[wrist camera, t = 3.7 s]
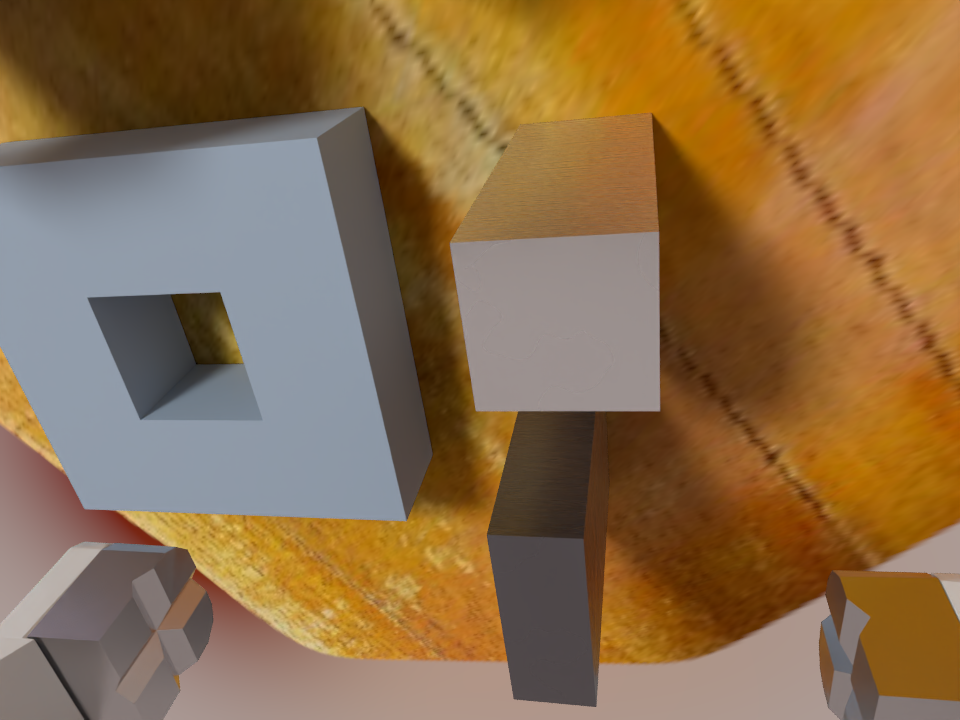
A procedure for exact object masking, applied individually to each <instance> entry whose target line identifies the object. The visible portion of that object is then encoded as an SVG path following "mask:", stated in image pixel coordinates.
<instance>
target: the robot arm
mask: <svg viewBox="0 0 960 720" xmlns="http://www.w3.org/2000/svg"><path fill="white" fill-rule="evenodd" d="M195 569H196V566H195V564H194V562H193V560H192V558H191V556H190V554H189V552H188V550H186V549H182V548H178V547H167V546H151V545H136V544H121V543H114V544H111V543H95V542H82V543H80V544H78V545H76V546H74V547H71V548H70V549H69V550H68V551H67V552H66V553H65V554H64V555H63V556H62V557H61V559H60V560H59V561H58V562H57V563H56V564H55V565H54V566H53V567H52V568H51V570H50V571H49V572H48V573H47V574H46V575H45V576H44V577H43V578H42V579H41V580H40V581H39V582H38V584H37V585H36V586H35V587H34V588H33V589H32V590H31V591H30V592H29V593H28V595H27V596H26V597H25V598H24V599H23V600H22V601H21V602H20V603H19V604H18V605H17V606H16V608H15V609H14V610H13V611H12V612H11V613H10V614H9V615H8V616H7V617H6V618H5V620H4V621H3V622H2V623H1V624H0V720H163V719H164V717H165V715H166V714H167V712H168V710H169V709H170V707H171V705H172V704H173V702H174V700H175V699H176V697H177V695H178V694H179V692H180V683H179V675H180V674H181V673H182V672H184V671H185V670H186V669H188V668H189V667H190V666H192V665H193V664H194V663H196V662H197V661H198V660H199V658H200V656H201V654H202V653H203V651H204V649H205V647H206V645H207V644H208V641H209V637H210V632H211V628H212V624H213V611H212V603H211V601H210V599H209V596H208V594H207V591H206V590H205V589H203V588H202V587H201V586H199V584H197V583H196V582H195V581H194V580H192V579H191V578H192V576H193V574H194V571H195ZM825 595H826V598H827V602H828V605H829V609H830V612H831V615H830V616H829V617H827V618H826V619H825V620H823V621H822V622H821V630H820V639H819V656H820V670H821V676H822V682H823V688H824V692H825V696H826V700H827V704H828V708H829V709H830V710H831V711H832V712H833V713H834V714H835V715H836V716H837V717H838V718H839V719H840V720H960V574H946V573H931V574H927V573H911V572H875V571H838V570H832V572H831V574H830V576H829V578H828V582H827V588H826V594H825Z"/></svg>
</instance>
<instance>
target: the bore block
mask: <svg viewBox="0 0 960 720" xmlns="http://www.w3.org/2000/svg"><path fill="white" fill-rule="evenodd" d="M211 292H220V293H221V296H222V299H223V302H224V305H225V308H226V311H227V314H228V317H229V320H230V323H231V326H232V329H233V332H234V335H235V338H236V341H237V344H238V347H239V350H240V353H241V356H242V359H243V362H244V364H201V365H196V362H195V360H194V357H193V354H192V352H191V349H190V346H189V344H188V341H187V338H186V336H185V333H184V330H183V327H182V325H181V322H180V319H179V317H178V314H177V311H176V309H175V306H174V303H173V301H172V298H171V295H170V294H187V293H211ZM0 347H1V349H2V351H3V353H4V355H5V356H6V358H7V360H8V362H9V364H10V366H11V368H12V370H13V372H14V374H15V376H16V378H17V380H18V382H19V383H20V385H21V387H22V389H23V391H24V393H25V395H26V397H27V399H28V401H29V403H30V405H31V407H32V409H33V410H34V412H35V414H36V416H37V418H38V420H39V422H40V424H41V426H42V428H43V430H44V432H45V434H46V436H47V437H48V439H49V441H50V443H51V445H52V447H53V449H54V451H55V453H56V455H57V457H58V459H59V461H60V463H61V464H62V466H63V468H64V470H65V472H66V474H67V476H68V478H69V480H70V482H71V484H72V486H73V488H74V490H75V491H76V493H77V495H78V497H79V499H80V501H81V503H82V505H83V507H84V509H98V510H124V511H151V512H178V513H205V514H231V515H258V516H285V517H312V518H339V519H365V520H392V521H407V519H408V516H409V514H410V511H411V509H412V506H413V504H414V501H415V499H416V496H417V493H418V491H419V488H420V486H421V483H422V481H423V478H424V476H425V473H426V471H427V468H428V465H429V463H430V460H431V458H432V455H433V453H432V448H431V443H430V437H429V432H428V427H427V422H426V417H425V412H424V407H423V402H422V397H421V392H420V387H419V382H418V377H417V372H416V367H415V362H414V357H413V352H412V347H411V342H410V337H409V332H408V327H407V322H406V317H405V312H404V307H403V302H402V297H401V292H400V287H399V282H398V277H397V272H396V267H395V262H394V257H393V252H392V246H391V241H390V236H389V231H388V226H387V221H386V216H385V211H384V206H383V201H382V196H381V191H380V186H379V181H378V176H377V171H376V166H375V161H374V156H373V151H372V146H371V141H370V136H369V131H368V126H367V121H366V116H365V111H364V107H356V108H346V109H336V110H326V111H316V112H306V113H296V114H286V115H276V116H266V117H256V118H246V119H236V120H226V121H216V122H206V123H196V124H186V125H176V126H166V127H156V128H146V129H136V130H126V131H116V132H106V133H96V134H86V135H76V136H66V137H56V138H46V139H36V140H26V141H16V142H6V143H2V144H0Z"/></svg>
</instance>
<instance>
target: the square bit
mask: <svg viewBox="0 0 960 720" xmlns="http://www.w3.org/2000/svg"><path fill="white" fill-rule="evenodd" d="M450 248H451V255H452V261H453V268H454V274H455V280H456V287H457V293H458V300H459V306H460V312H461V319H462V325H463V331H464V338H465V344H466V351H467V357H468V363H469V370H470V376H471V383H472V389H473V395H474V402H475V408H476V411H660V315H659V223H658V207H657V191H656V174H655V158H654V142H653V126H652V113H644V114H633V115H622V116H611V117H600V118H589V119H578V120H566V121H555V122H544V123H533V124H522V125H520V126H519V128H518V129H517V131H516V133H515V134H514V136H513V138H512V139H511V141H510V143H509V145H508V146H507V148H506V150H505V151H504V153H503V155H502V156H501V158H500V160H499V161H498V163H497V165H496V166H495V168H494V170H493V171H492V173H491V175H490V176H489V178H488V180H487V181H486V183H485V185H484V186H483V188H482V190H481V191H480V193H479V195H478V196H477V198H476V200H475V201H474V203H473V205H472V206H471V208H470V210H469V211H468V213H467V215H466V216H465V218H464V220H463V221H462V223H461V225H460V226H459V228H458V230H457V231H456V233H455V235H454V236H453V238H452V240H451V241H450Z"/></svg>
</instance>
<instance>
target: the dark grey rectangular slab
mask: <svg viewBox="0 0 960 720" xmlns="http://www.w3.org/2000/svg"><path fill="white" fill-rule="evenodd" d="M609 482H610V481H609V461H608V441H607V421H606V411H518V414H517V418H516V422H515V426H514V430H513V434H512V438H511V442H510V446H509V450H508V454H507V458H506V462H505V465H504V469H503V473H502V477H501V481H500V485H499V489H498V493H497V497H496V501H495V505H494V509H493V513H492V517H491V521H490V524H489V528H488V532H487V539H488V545H489V551H490V557H491V563H492V569H493V575H494V581H495V587H496V594H497V600H498V606H499V612H500V618H501V624H502V630H503V636H504V642H505V648H506V654H507V661H508V666H509V672H510V679H511V685H512V691H513V697H514V699H517V700H527V701H538V702H549V703H559V704H570V705H581V706H592V707H596V704H597V686H598V668H599V652H600V635H601V618H602V601H603V584H604V567H605V550H606V533H607V516H608V499H609Z"/></svg>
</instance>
